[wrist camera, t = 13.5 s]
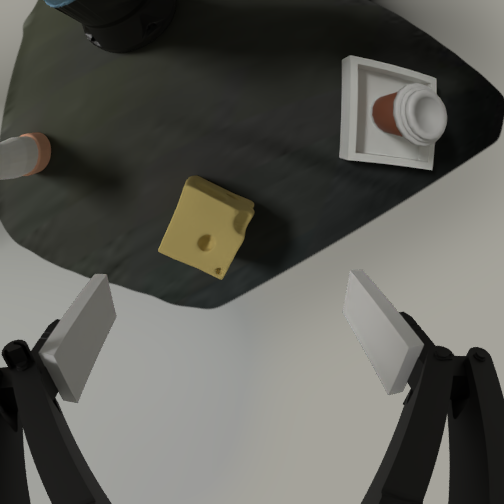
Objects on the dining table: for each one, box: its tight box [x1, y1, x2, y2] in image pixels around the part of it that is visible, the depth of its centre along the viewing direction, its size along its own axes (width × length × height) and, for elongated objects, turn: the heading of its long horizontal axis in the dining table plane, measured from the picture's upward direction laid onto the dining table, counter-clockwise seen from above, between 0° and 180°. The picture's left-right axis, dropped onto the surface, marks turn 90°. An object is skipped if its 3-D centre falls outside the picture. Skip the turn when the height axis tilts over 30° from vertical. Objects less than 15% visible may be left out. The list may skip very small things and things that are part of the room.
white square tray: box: [339, 55, 437, 170], centre depth 41 cm, size 17×17×4 cm
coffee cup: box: [371, 83, 447, 147], centre depth 36 cm, size 9×9×12 cm
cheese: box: [158, 175, 254, 280], centre depth 43 cm, size 10×11×10 cm
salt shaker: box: [0, 132, 51, 180], centre depth 31 cm, size 7×7×19 cm
